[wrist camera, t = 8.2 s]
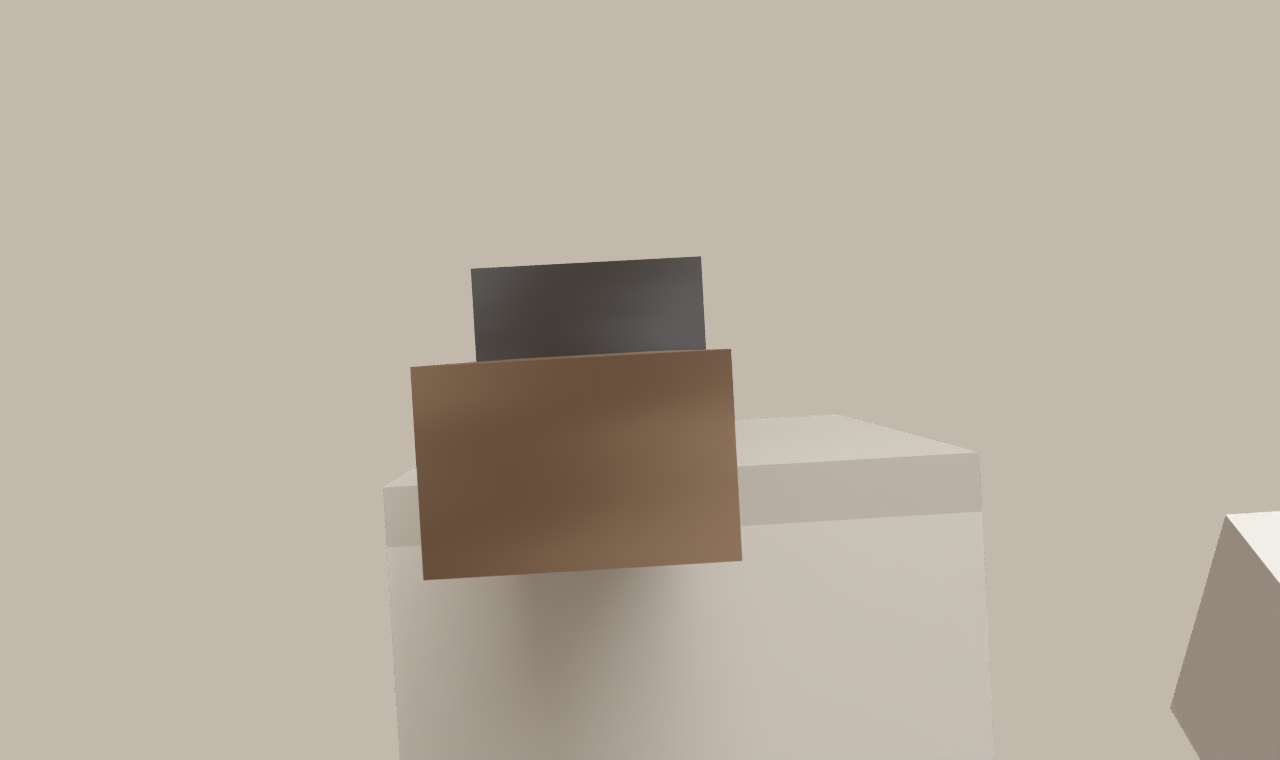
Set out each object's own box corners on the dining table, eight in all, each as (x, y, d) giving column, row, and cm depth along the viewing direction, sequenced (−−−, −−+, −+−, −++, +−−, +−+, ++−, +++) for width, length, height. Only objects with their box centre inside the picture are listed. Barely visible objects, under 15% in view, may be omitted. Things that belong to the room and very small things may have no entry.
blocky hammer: (692, 423, 31) (684, 273, 31) (847, 554, 11) (825, 130, 11) (504, 435, 31) (495, 283, 31) (315, 587, 11) (287, 157, 11)
